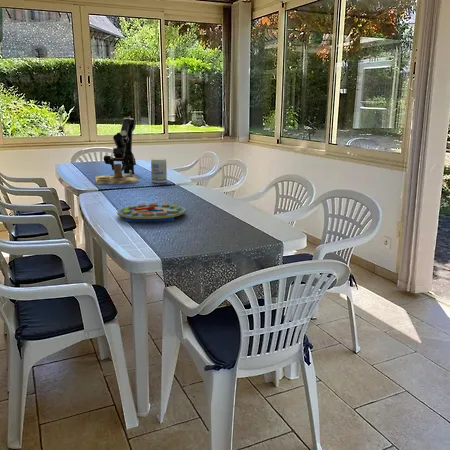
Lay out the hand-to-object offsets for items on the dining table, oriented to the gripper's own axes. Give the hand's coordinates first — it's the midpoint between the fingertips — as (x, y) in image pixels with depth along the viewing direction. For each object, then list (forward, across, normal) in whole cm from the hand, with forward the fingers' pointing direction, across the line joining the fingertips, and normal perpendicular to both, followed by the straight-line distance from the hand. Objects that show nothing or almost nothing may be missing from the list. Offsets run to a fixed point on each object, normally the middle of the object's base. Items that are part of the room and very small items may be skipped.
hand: (117, 170), depth 277 cm
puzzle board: (+1, -3, +10) cm, 10 cm away
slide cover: (-6, +2, +14) cm, 15 cm away
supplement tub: (+4, +26, +7) cm, 27 cm away
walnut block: (+3, 0, +5) cm, 6 cm away
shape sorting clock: (+62, +35, -51) cm, 88 cm away
